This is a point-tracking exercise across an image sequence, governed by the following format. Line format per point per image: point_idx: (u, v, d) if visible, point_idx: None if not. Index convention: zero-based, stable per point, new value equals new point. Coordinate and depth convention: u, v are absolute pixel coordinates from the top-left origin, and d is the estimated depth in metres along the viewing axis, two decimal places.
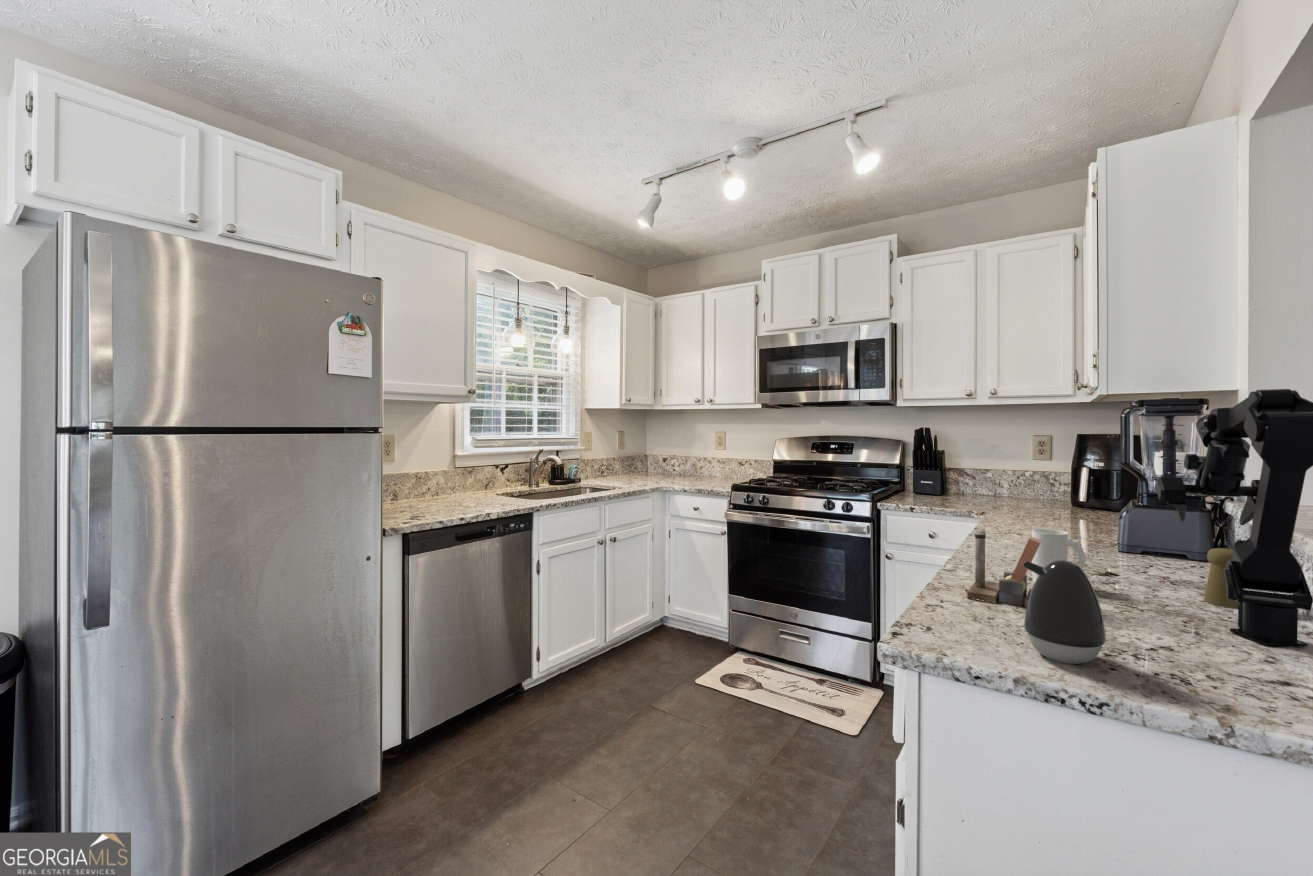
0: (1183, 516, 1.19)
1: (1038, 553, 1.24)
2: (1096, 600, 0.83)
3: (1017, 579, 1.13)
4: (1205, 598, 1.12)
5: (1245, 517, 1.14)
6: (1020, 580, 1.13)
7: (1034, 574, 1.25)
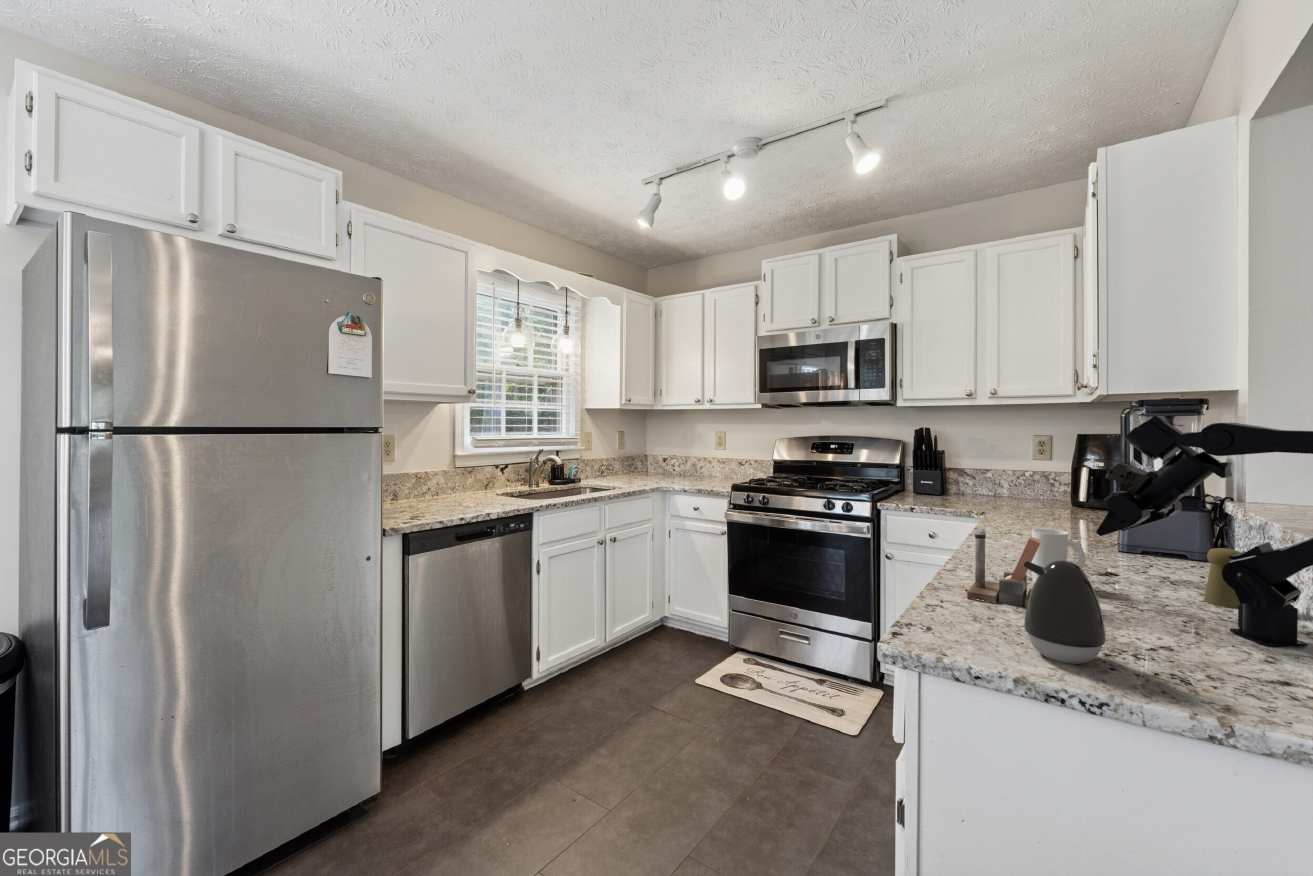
0: (1112, 532, 1.07)
1: (1038, 553, 1.24)
2: (1096, 600, 0.83)
3: (1017, 579, 1.13)
4: (1205, 598, 1.12)
5: (1136, 525, 1.11)
6: (1020, 580, 1.13)
7: (1034, 574, 1.25)
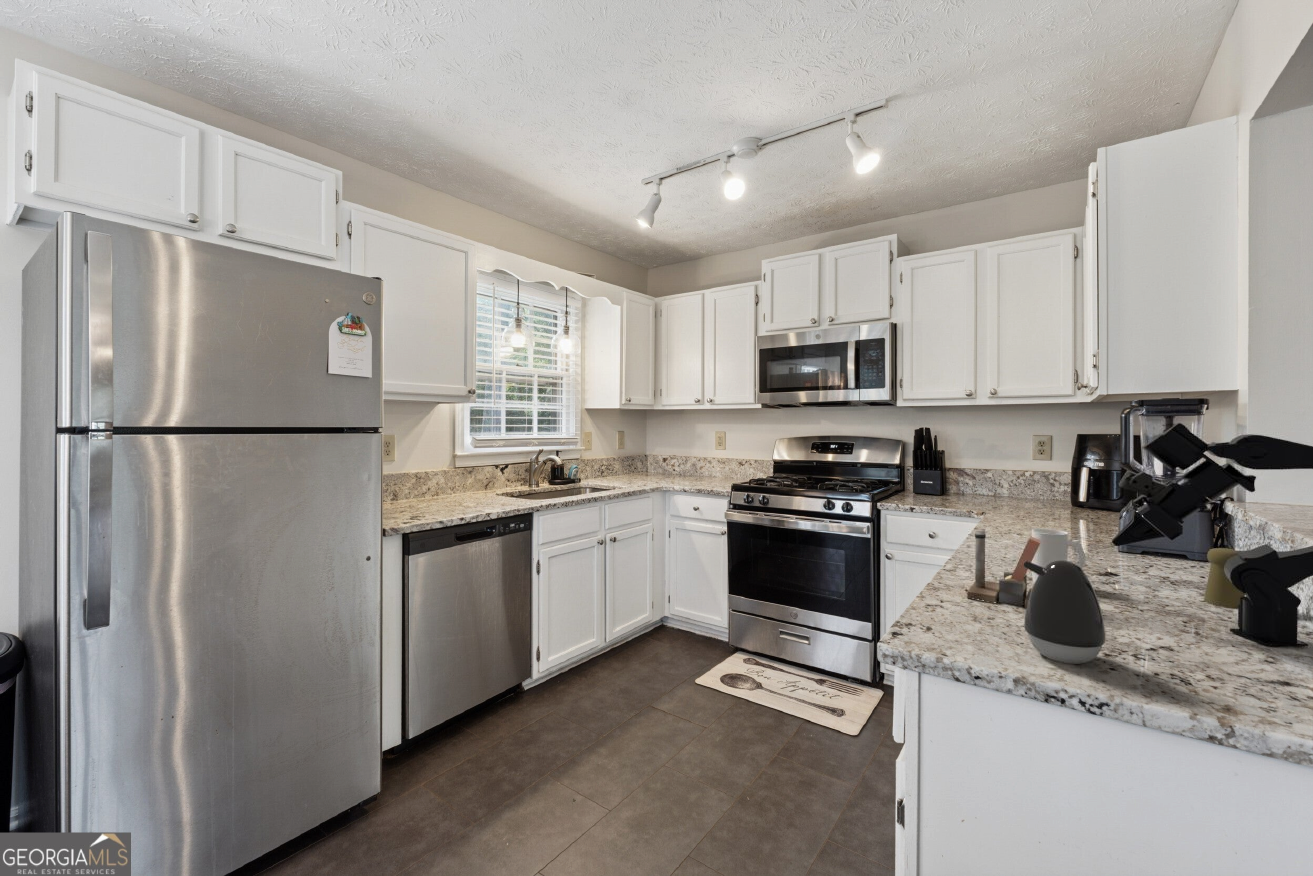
0: (1131, 542, 1.02)
1: (1038, 553, 1.24)
2: (1096, 600, 0.83)
3: (1017, 579, 1.13)
4: (1205, 598, 1.12)
5: None
6: (1020, 580, 1.13)
7: (1034, 574, 1.25)
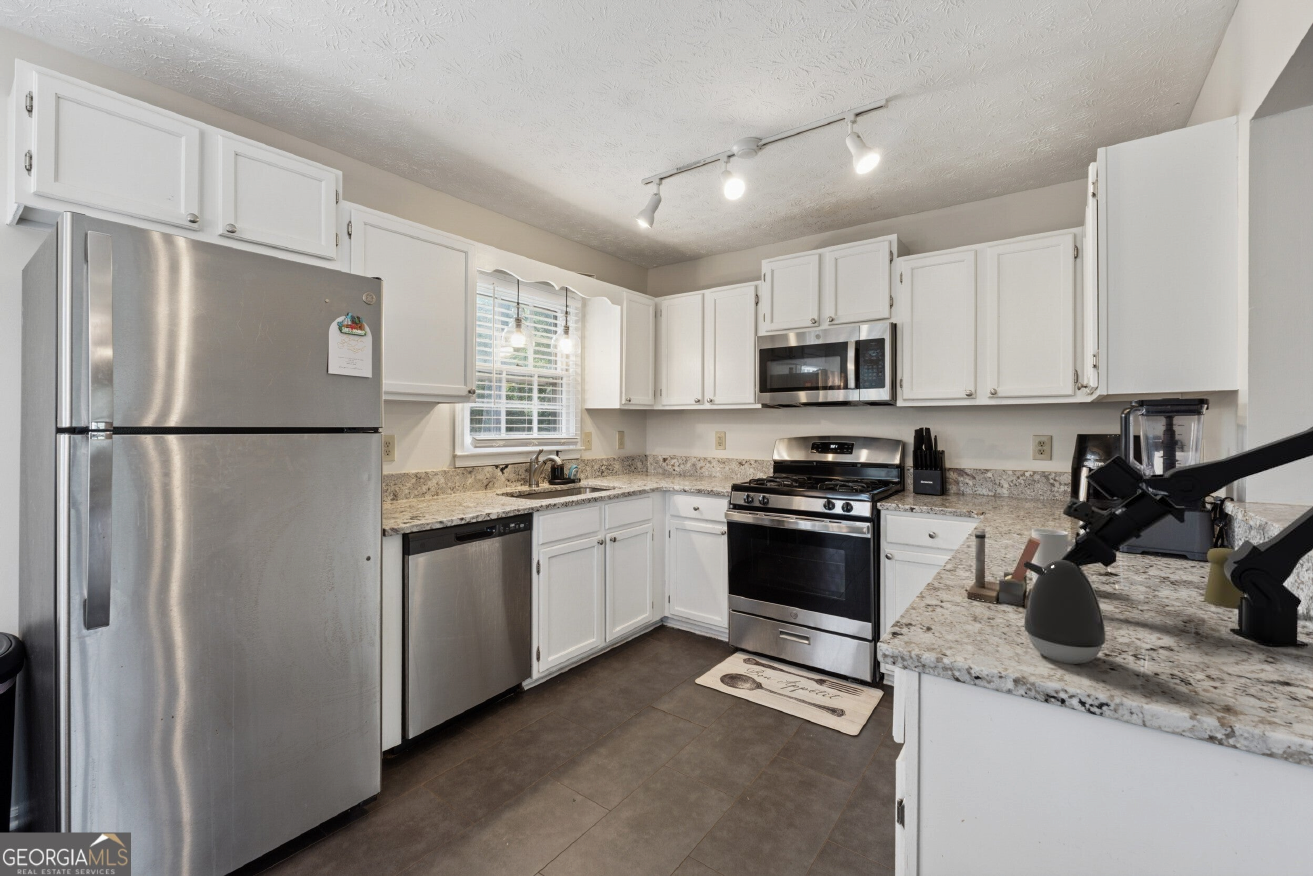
0: None
1: (1038, 553, 1.24)
2: (1096, 600, 0.83)
3: (1017, 579, 1.13)
4: (1205, 598, 1.12)
5: None
6: (1020, 580, 1.13)
7: (1034, 574, 1.25)
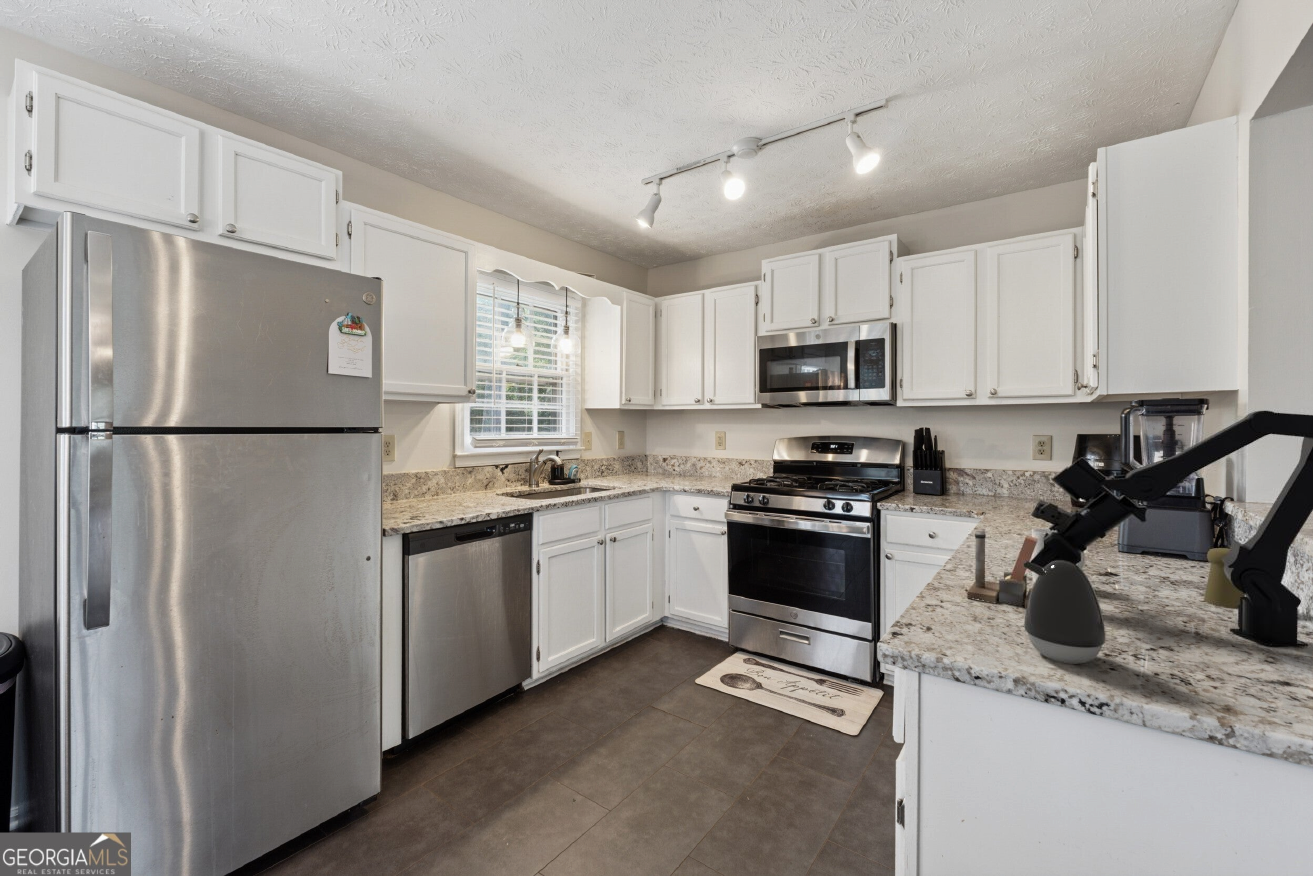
0: (1043, 567, 1.11)
1: None
2: (1096, 600, 0.83)
3: (1016, 579, 1.13)
4: (1205, 598, 1.12)
5: None
6: (1019, 580, 1.13)
7: (1034, 574, 1.25)
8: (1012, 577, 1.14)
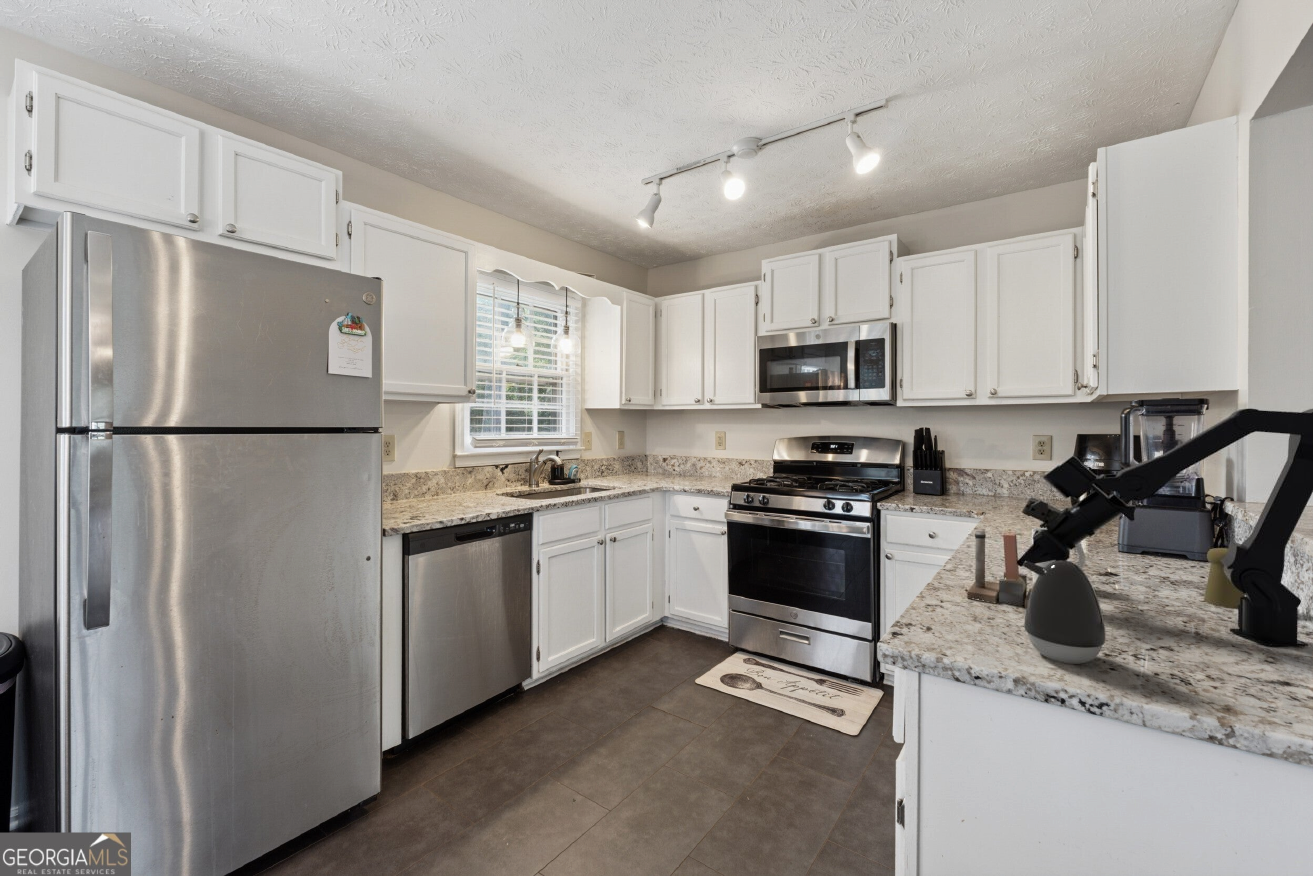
0: None
1: None
2: (1096, 600, 0.83)
3: (1012, 577, 1.14)
4: (1205, 598, 1.12)
5: None
6: (1015, 577, 1.13)
7: (1034, 574, 1.25)
8: (1007, 577, 1.14)
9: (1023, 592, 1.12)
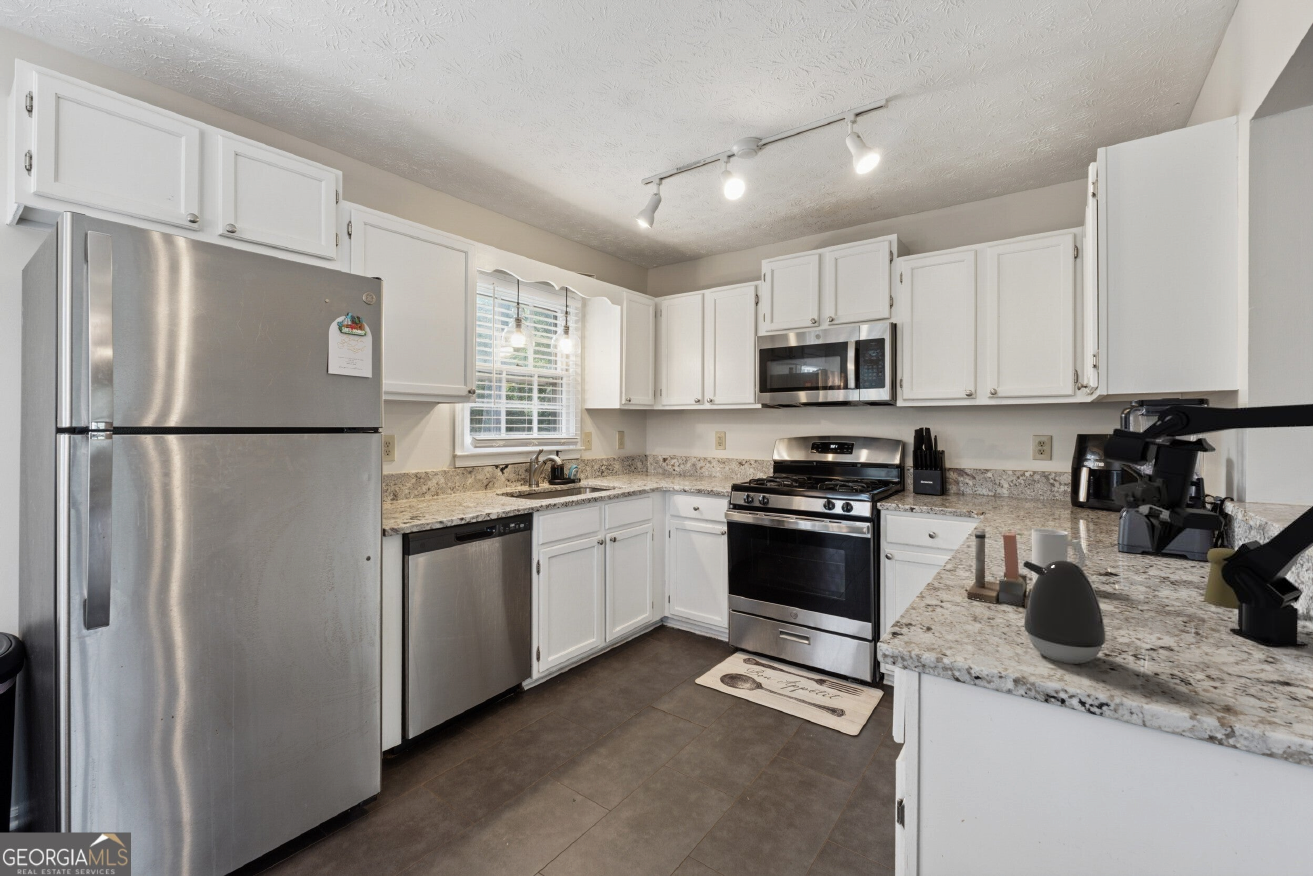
0: None
1: (1038, 553, 1.24)
2: (1096, 600, 0.83)
3: (1012, 577, 1.14)
4: (1205, 598, 1.12)
5: None
6: (1015, 577, 1.13)
7: (1034, 574, 1.25)
8: (1007, 577, 1.14)
9: (1023, 592, 1.12)
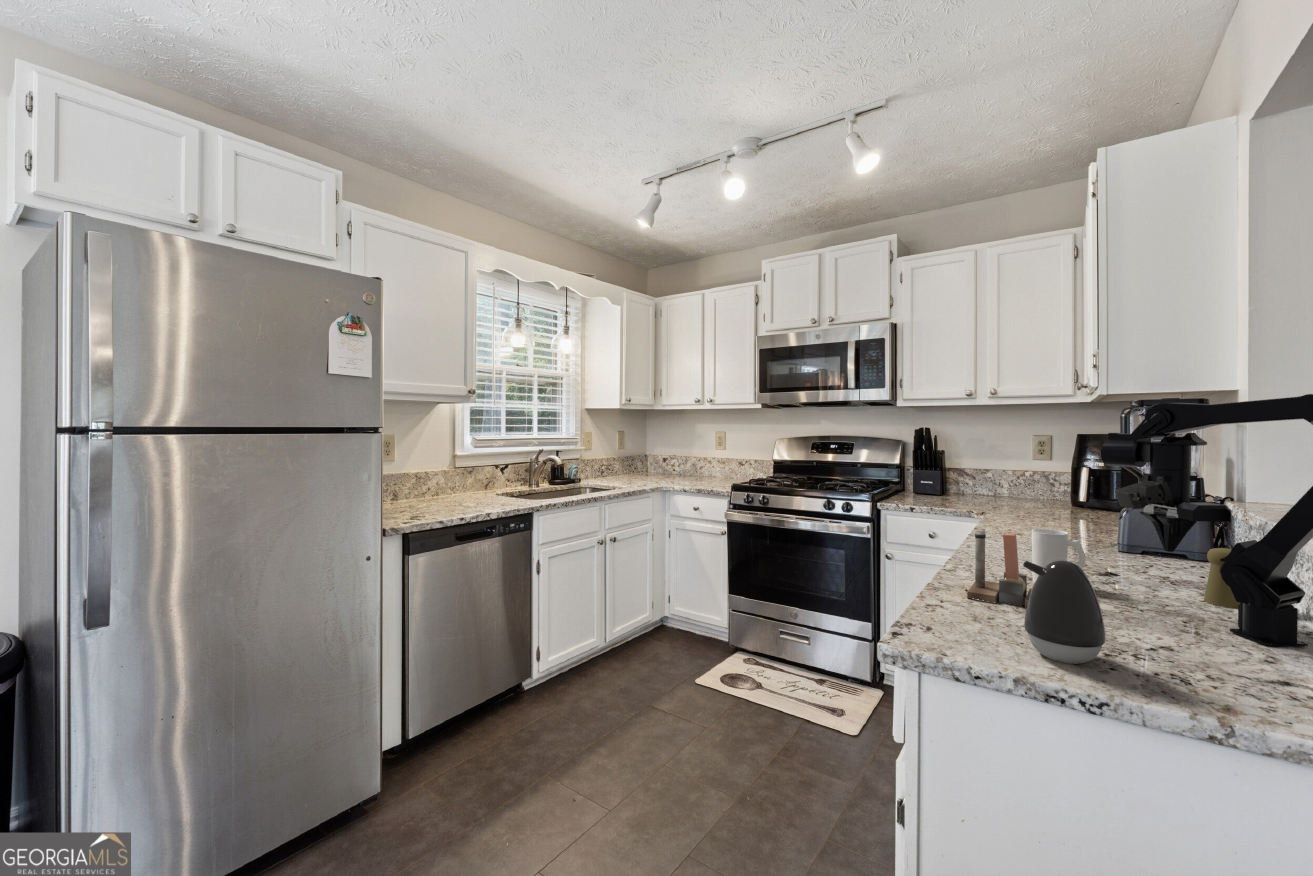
0: None
1: (1038, 553, 1.24)
2: (1096, 600, 0.83)
3: (1012, 577, 1.14)
4: (1205, 598, 1.12)
5: None
6: (1015, 577, 1.13)
7: (1034, 574, 1.25)
8: (1007, 577, 1.14)
9: (1023, 592, 1.12)
